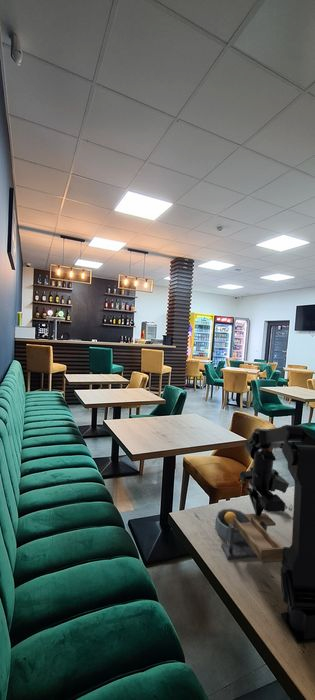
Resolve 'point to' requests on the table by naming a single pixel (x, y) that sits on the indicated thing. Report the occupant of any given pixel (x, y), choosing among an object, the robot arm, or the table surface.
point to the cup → (223, 526)
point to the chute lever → (260, 537)
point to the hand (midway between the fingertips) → (257, 514)
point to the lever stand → (238, 545)
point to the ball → (229, 517)
